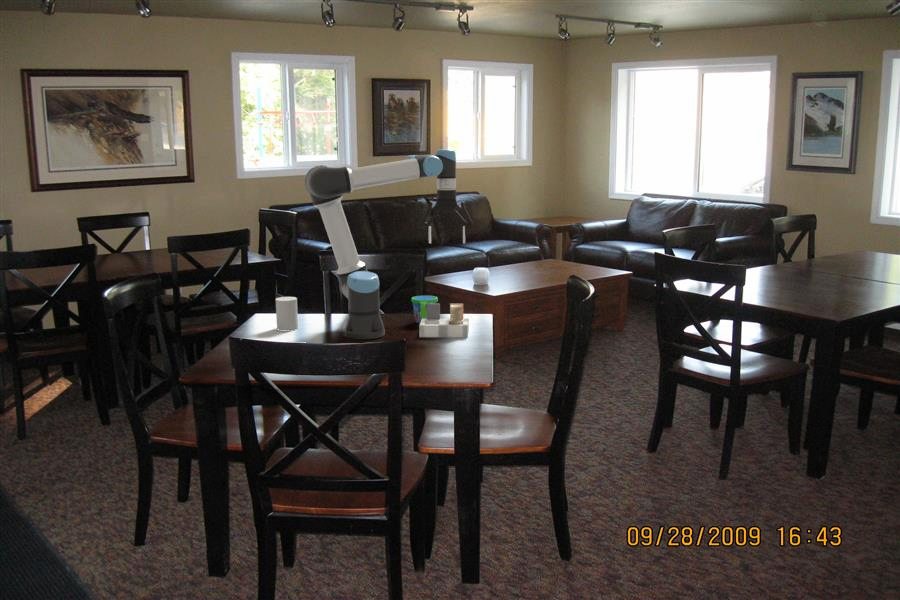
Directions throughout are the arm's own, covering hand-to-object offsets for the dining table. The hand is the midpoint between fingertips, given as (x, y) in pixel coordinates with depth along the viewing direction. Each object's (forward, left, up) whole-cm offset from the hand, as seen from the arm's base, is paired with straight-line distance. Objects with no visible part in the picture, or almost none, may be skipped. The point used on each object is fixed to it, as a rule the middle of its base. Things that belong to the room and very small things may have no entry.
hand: (447, 243), depth 335 cm
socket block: (0, -22, -32) cm, 39 cm away
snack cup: (-9, -3, -32) cm, 33 cm away
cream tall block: (+4, -24, -32) cm, 40 cm away
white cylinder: (-62, -15, -32) cm, 71 cm away
